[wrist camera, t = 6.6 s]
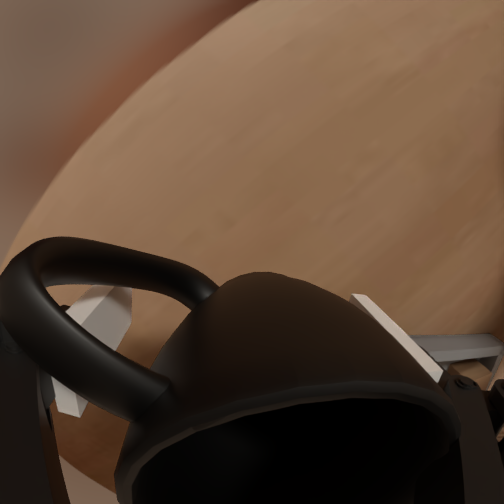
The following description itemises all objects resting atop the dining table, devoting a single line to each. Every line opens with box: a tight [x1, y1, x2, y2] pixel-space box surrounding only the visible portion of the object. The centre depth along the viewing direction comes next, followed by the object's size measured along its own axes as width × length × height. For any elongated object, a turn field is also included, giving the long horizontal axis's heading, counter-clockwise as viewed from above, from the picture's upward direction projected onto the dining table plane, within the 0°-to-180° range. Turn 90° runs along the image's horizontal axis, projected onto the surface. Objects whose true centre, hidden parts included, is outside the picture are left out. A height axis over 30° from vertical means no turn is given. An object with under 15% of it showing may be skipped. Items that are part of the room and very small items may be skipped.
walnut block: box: [448, 358, 492, 391], centre depth 28 cm, size 4×4×4 cm
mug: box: [0, 237, 461, 504], centre depth 9 cm, size 8×12×10 cm
